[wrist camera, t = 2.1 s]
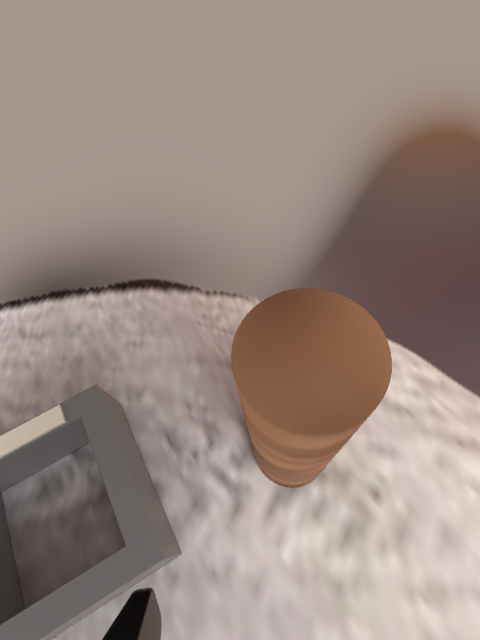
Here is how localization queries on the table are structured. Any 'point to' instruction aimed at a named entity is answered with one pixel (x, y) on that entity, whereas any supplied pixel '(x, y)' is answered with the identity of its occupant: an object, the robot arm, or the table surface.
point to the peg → (307, 379)
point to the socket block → (125, 496)
